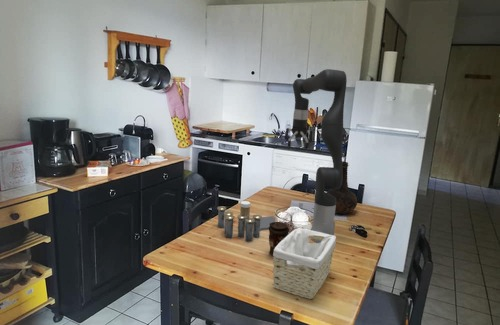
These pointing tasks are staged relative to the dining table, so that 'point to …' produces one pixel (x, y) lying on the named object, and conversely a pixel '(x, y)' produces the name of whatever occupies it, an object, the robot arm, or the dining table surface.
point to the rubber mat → (266, 222)
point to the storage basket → (302, 262)
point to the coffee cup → (276, 234)
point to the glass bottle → (344, 195)
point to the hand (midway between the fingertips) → (297, 148)
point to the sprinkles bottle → (245, 209)
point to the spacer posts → (239, 224)
